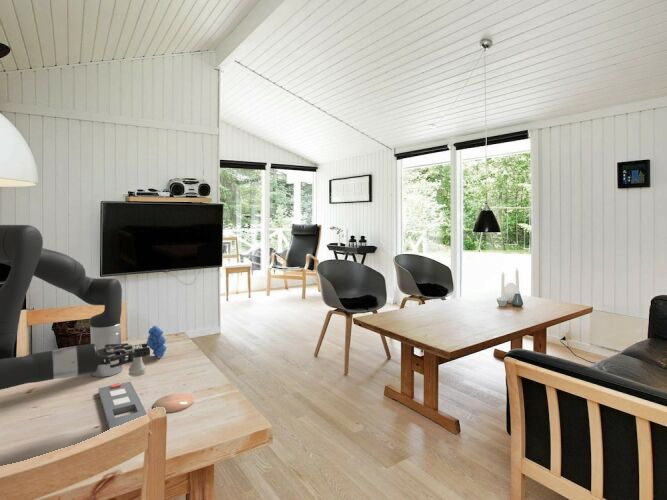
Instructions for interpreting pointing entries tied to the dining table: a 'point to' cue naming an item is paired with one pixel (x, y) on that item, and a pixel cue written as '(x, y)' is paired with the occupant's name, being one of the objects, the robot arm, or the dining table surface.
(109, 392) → the power strip
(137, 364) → the rook chess piece
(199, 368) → the dining table surface
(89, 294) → the robot arm
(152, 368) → the dining table surface
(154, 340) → the grapes
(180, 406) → the peach dome
